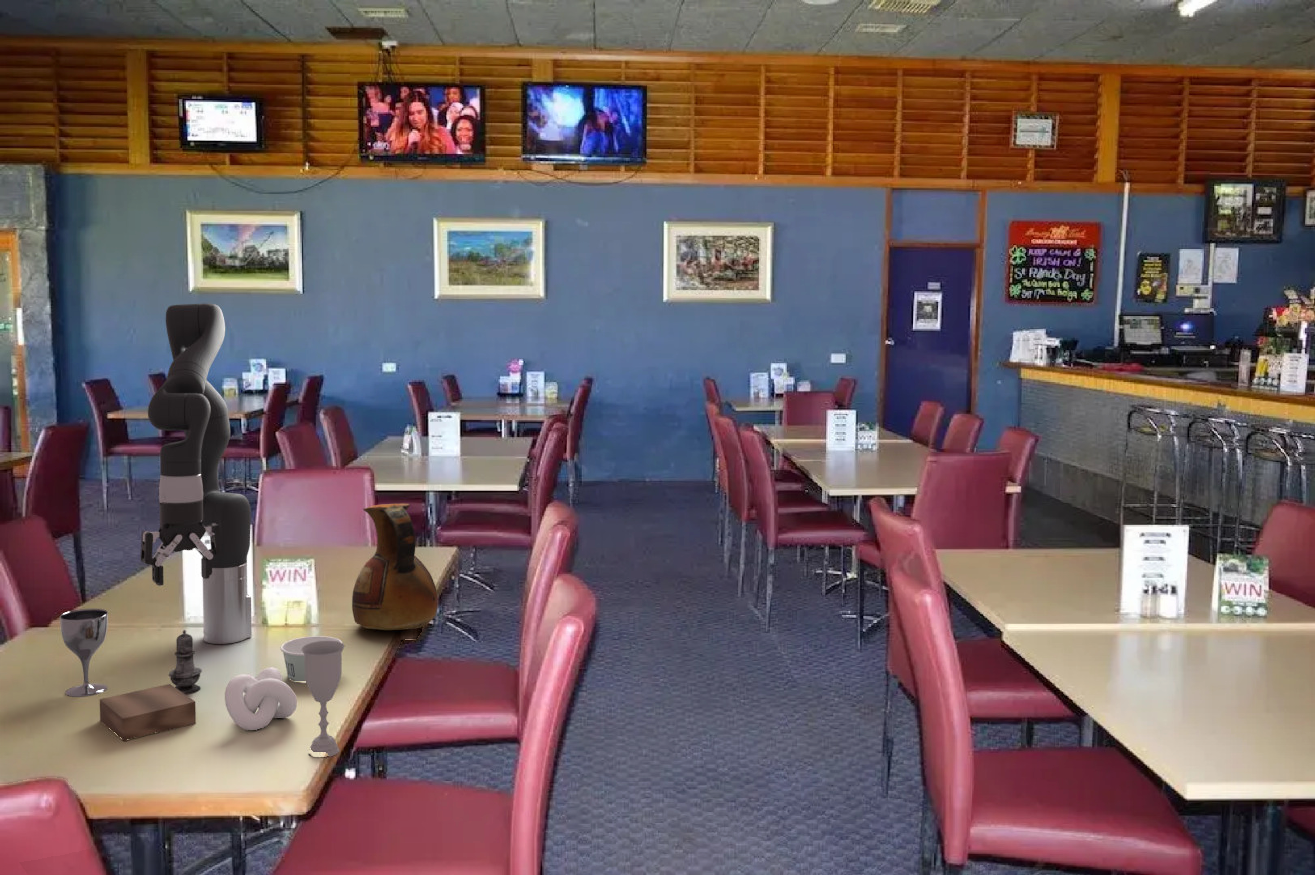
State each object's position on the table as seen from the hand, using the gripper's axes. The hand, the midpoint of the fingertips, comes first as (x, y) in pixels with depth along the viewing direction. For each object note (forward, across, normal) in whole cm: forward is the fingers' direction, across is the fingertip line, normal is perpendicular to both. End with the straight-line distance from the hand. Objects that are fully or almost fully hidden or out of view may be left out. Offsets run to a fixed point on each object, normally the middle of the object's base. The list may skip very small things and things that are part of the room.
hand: (182, 581), depth 195 cm
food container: (+22, -22, +8) cm, 32 cm away
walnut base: (+22, +11, +12) cm, 27 cm away
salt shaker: (+22, 0, 0) cm, 22 cm away
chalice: (+22, -6, +44) cm, 50 cm away
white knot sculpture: (+22, -3, +25) cm, 33 cm away
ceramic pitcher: (+22, -52, -10) cm, 57 cm away
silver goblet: (+22, +14, -12) cm, 28 cm away
